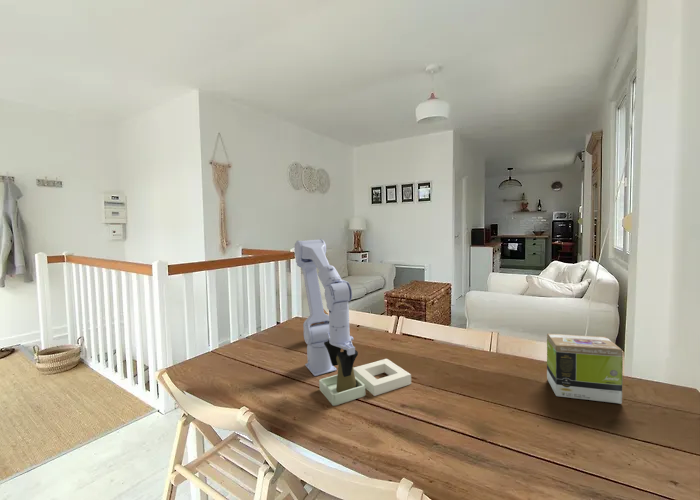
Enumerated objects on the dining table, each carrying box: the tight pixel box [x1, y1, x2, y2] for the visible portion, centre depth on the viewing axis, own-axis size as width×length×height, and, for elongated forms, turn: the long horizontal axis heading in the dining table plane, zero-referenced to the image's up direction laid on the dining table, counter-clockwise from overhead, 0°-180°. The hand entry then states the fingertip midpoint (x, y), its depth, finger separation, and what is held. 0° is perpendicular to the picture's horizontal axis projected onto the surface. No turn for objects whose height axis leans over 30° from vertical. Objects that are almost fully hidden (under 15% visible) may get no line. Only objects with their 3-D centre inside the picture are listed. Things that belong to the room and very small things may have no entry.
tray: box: [318, 373, 366, 407], centre depth 94 cm, size 10×10×3 cm
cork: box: [336, 350, 357, 393], centre depth 94 cm, size 6×6×11 cm
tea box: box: [546, 333, 624, 405], centre depth 89 cm, size 15×10×15 cm, turn 71°
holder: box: [353, 358, 412, 397], centre depth 100 cm, size 13×13×3 cm
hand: (341, 370), depth 93 cm, fingers open, 7 cm apart
